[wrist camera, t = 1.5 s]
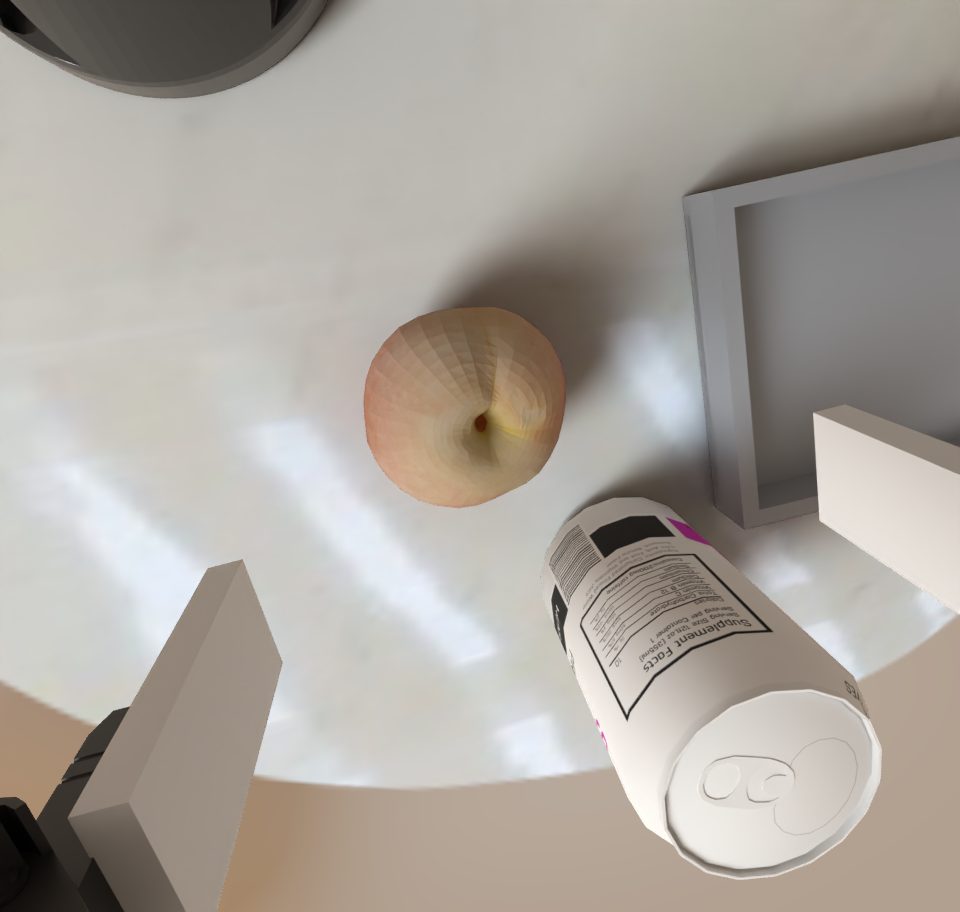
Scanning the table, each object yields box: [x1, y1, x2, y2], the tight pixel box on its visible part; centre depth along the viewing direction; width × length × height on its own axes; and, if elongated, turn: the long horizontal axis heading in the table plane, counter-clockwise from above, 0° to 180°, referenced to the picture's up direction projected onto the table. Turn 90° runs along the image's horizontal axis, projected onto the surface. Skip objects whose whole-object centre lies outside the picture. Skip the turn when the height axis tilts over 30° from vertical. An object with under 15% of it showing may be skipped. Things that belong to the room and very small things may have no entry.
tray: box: [682, 136, 960, 530], centre depth 31 cm, size 15×19×3 cm
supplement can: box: [540, 497, 882, 880], centre depth 27 cm, size 8×8×15 cm
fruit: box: [364, 307, 566, 508], centre depth 27 cm, size 8×8×8 cm
